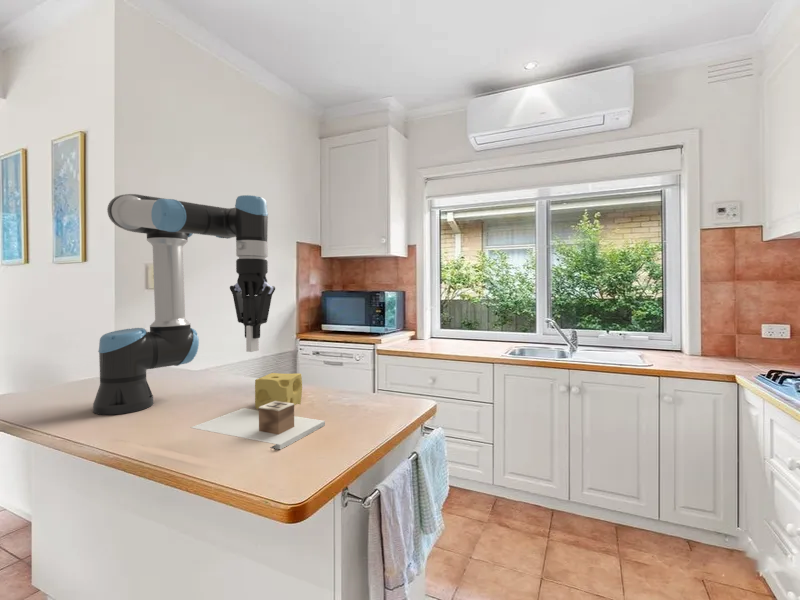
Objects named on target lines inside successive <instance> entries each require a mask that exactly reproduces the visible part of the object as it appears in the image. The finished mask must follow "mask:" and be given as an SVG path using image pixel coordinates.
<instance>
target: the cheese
mask: <svg viewBox="0 0 800 600" xmlns="http://www.w3.org/2000/svg"><path fill="white" fill-rule="evenodd" d="M302 378H303V376H302V373H277V372H271V373H268V374H266V375H263V376H261V377H259V378H256V379H255V381H254V405H255V406H254V407H255V410H259V407H260V406H263V405H265V404H268V403H271V402H273V401H280V402H287V403H294V407H295V406H297V405H301V403H302V395H303V394H302V393H303V379H302Z"/></svg>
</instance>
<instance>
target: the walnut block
mask: <svg viewBox="0 0 800 600" xmlns="http://www.w3.org/2000/svg"><path fill="white" fill-rule="evenodd" d="M258 410H259V431H262V432H267V433H273V434H278V435H279V434H281V433H283V432H285V431H287V430H289V429H291V428H293V427H294V416H295V406H294V403H287V402H280V401H273V402H271V403H268V404H265V405H263V406H260V407H259V409H258Z"/></svg>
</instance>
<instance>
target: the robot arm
mask: <svg viewBox="0 0 800 600" xmlns="http://www.w3.org/2000/svg"><path fill="white" fill-rule="evenodd" d="M267 204H268V202H267V199H265V198H263V197H262V196H258V195H249V194H247V195H239V196H236V199H235V204H234V207H230V208H227V207H221V206H214V205H207V204H199V203H193V202H190V201H189V202H188V201H183V200H177V199H173V198H165V197H164V198H163V197H157V196H149V195H143V194H136V193H126V194H119V195H117V196H115V197H114V198H112V199H111V200H110V201H109V203H108V205H107V209H106V210H107V211H106V212H107V216H108V218H109V220H110V221H111V223H113V225H115V226H117V227H118V228H120V229H122V230H125V231H128V232H133V233H139V234H146V241H147V242H148V243H149V244H150V245H151V246H152V263H153V267H152V268H153V271H152V273H153V288H154V289H153V296H154V321H153V322H152V323H151V324H150V325H149V331H146V329H145V328H144V327H132V328H124V329H118V330H113V331H109V332H106V333H105V334H103V335H101V337H100V338H99V343H98V344H99V346H98V351H97V352H98V354H99V355H98V357H99V359H98V360H99V361H98V362H99V387H98V390H97V393H96V395H95V398H94V400H93V403H92V411H93V413H94V414H97V415H102V416H103V415H104V416H105V415H106V416H107V415H109V416H110V415H121V414H130V413H134V412H139V411H142V410H145V409H147V408H149V407H152V406H153V405H154V395H153V393H152V390H151V387H150V385H149V383H148V380H147V370H152V369H159V368H167V367H172V366H176V367H178V366H180V365H185V364H189V363H191V362H192V361H193V360H194V359H195V357H197V354H198V350H199V344H200V342H199V341H200V339H199V336H198V332H197V331H196V330H195V329H194V328H192V327H191V323H190V321H188V320H187V319H186V309H185V308H186V307H185V306H186V303H185V281H184V280H185V275H184V251H183V250H184V249H183V248H184V246H185V245H186V244H187V243H188V238H191V237H192V236H193V234H194V235H195V234H196V235H203V236H211V237H212V236H213V237H216V238H219V239H232V238H235V244H236V246H235V247H236V249H235V250H236V252H235V255H236V257H237V259H236V260H235V263H236V264H235V267H236V269H235V270H236V274H238V278H237V281H236V283H235V284H234V285H230V286H229V290H230V291H231V294H232V296H233V297H232V298H233V303H234V308H235V312H236V319H237V322H238V323H241V324H243V326H244V339H246V341H245V342H246V343H245V344H246V349H245V350H246V352H249V353H252V352H257V351H259V348H260V347H259V343H260V342H259V339H260V338H261V325H263V324H267V322H268V319H269V314H270V308H271V304H272V297H273V294H274V293H275V291H276V287H275V286H274V285H271V284H269V283H268V279H267V274H268V266H269V265H268V263H269V262H268V260H267V259H266V258H268V257H269V256H268V255H269V253H268V247H269V246H268V222H269V221H268V219H269V213H268V205H267Z"/></svg>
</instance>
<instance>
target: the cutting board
mask: <svg viewBox="0 0 800 600" xmlns="http://www.w3.org/2000/svg"><path fill="white" fill-rule="evenodd" d="M325 425H326V420H320V419H315V418H308V417H302V416H295V415H294V427H293V428H291V429H289V430H287V431H285V432H283V433H281V434H279V435H278V434H273V433H267V432H262V431H259V409H251V408H245V407H242V408H240V409H237V410H234V411H232V412H229V413H226V414H224V415H220V416H218V417H215V418H213V419H210V420H207V421H204V422H202V423H199V424H196V425H194V426H190V428H191V429H196V430H201V431H206V432H209V433H210V432H211V433H216V434H221V435H227V436H231V437H238V438H241V439H247V440H253V441H258V442H262V443H268V444H274V445H273V446H270V447H269V448H270V449H273V448H275V449H274V450H278V449H281V450H283V449H284V447H285V448H287V447H289V446H290V445H292V444H294V443H296V442H297V441H299V440H301V439H302V438H304V437H307V436H308V435H310V434H312V433H313V432H315V431H317V430H319V429H321V428H323V427H325ZM295 441H296V442H295ZM286 446H287V447H286ZM282 448H283V449H282Z"/></svg>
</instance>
